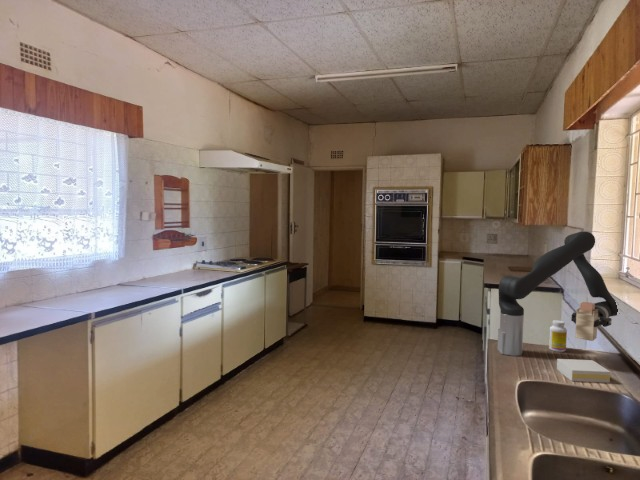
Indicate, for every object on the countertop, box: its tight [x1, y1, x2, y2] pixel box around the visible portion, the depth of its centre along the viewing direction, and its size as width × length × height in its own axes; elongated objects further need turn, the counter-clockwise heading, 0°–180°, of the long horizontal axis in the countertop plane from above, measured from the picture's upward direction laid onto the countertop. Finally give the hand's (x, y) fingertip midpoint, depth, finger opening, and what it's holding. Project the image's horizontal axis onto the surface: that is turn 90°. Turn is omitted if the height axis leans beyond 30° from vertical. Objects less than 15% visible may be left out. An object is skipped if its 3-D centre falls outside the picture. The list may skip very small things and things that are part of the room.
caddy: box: [574, 307, 598, 342], centre depth 171 cm, size 6×6×12 cm
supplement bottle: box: [548, 319, 568, 353], centre depth 191 cm, size 7×7×13 cm
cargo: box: [579, 301, 596, 314], centre depth 171 cm, size 4×4×4 cm
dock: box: [556, 358, 611, 384], centre depth 161 cm, size 13×12×4 cm
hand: (585, 322), depth 169 cm, fingers closed on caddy, 6 cm apart
